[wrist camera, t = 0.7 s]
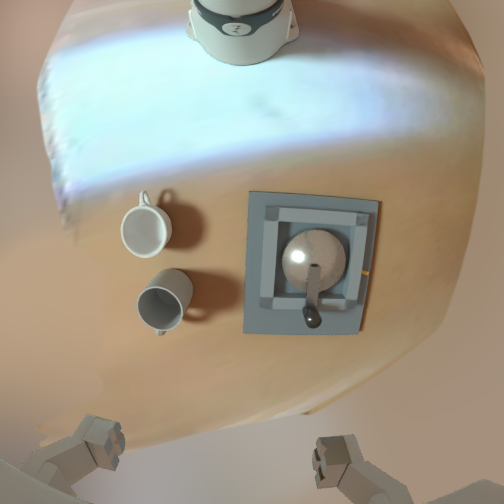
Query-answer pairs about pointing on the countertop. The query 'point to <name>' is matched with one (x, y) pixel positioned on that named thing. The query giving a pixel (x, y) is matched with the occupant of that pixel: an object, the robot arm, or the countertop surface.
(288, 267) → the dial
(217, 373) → the countertop surface
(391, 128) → the countertop surface
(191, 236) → the countertop surface
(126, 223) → the teacup
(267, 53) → the robot arm
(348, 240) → the panel
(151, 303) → the cup
